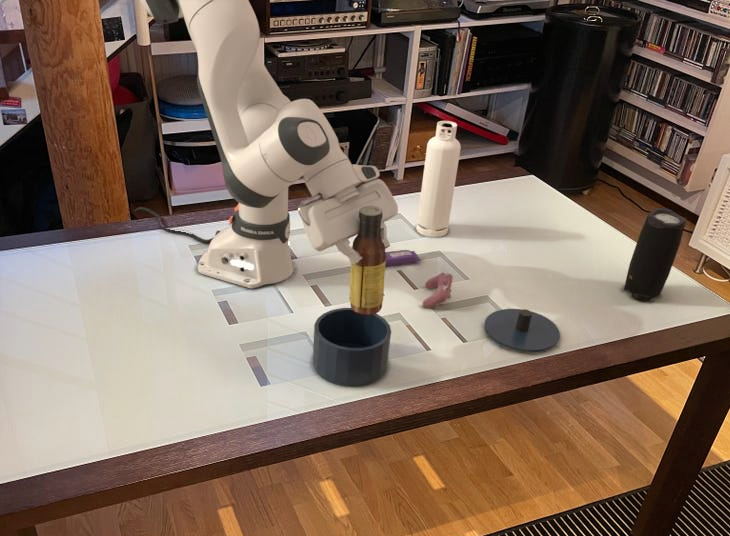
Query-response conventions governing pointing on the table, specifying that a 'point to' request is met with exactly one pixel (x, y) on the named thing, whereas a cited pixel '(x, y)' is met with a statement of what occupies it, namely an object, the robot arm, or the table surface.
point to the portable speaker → (654, 254)
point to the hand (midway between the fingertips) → (372, 255)
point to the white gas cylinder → (438, 181)
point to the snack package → (401, 257)
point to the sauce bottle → (368, 264)
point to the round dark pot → (351, 347)
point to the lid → (522, 330)
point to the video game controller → (443, 291)
